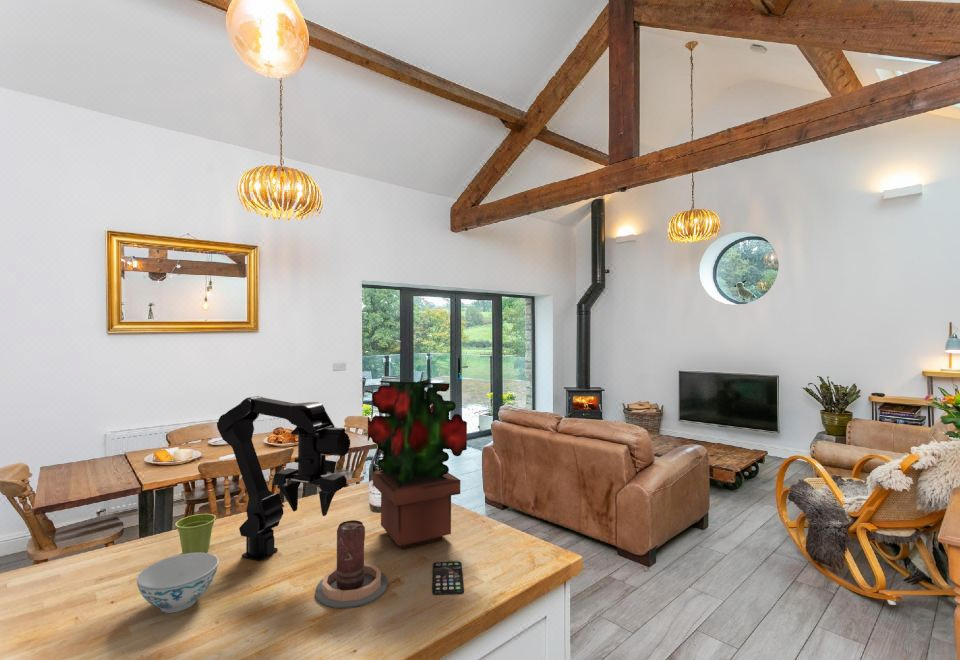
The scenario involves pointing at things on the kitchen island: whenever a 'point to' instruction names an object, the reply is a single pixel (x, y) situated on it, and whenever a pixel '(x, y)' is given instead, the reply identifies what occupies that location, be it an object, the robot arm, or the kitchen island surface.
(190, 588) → the chinaware
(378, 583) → the ring tray
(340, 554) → the can
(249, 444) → the robot arm
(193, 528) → the plant pot
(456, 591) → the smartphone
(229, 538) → the kitchen island surface
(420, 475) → the potted plant
